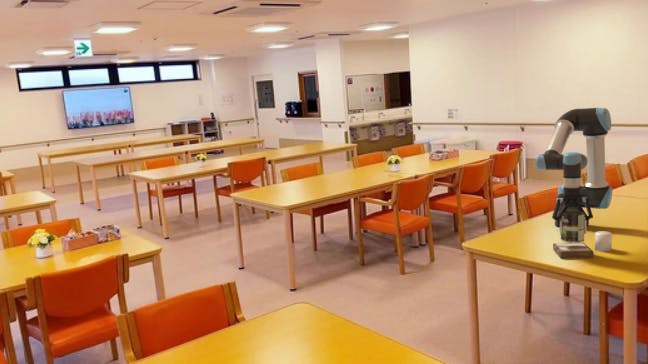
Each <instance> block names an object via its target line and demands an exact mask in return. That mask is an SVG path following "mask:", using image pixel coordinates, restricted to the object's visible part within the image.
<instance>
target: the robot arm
mask: <svg viewBox="0 0 648 364" xmlns="http://www.w3.org/2000/svg"><path fill="white" fill-rule="evenodd" d="M611 130H612V118H611V113H610V111H609V109H608V108H606V107H587V108H574V109H570V110H569V111H566V112H564V114H562V115H561V116H560V117H559V118H558V119H557V120H556V122H555V124H554V131H553V133H552V136H551V138H550V140H549V142H548V145H547V146H546V149H545V151H544V153H540V154H537V156H536V157H535V166H536V168H537V169H538V170H543V171H563V174H562V175H563V179H562V182H563V184H561V185H559V186H558V188H557V197H556V198H555V206H554V209H553V213H552V215H551V218H552V219H553V220H554V226H555V227H557V228H558V234H559V235H560V236H561V235H562V221H561V218H562V212H565V211H566V209H567V208H576V209H579V210H580V211H585V209H586V212H585V213H584V235H587V227H589V224H590V219H593V218H594V216H593V215H594V214H593V212H592V209H598V210H602V209H603V210H605V209H609V207H610V206H611V203H612V197H613V187H611V186H610V183H609V182H608V181H606V150H605V149H606V147H605V144H606V143H605V141H606V140H605V138H606V136H607V135H608V134H609V131H611ZM574 132H582V136H583V137H584V138H585V141H586V142H585V145H586V155H585V154H584V153H582V152H581V153H580V152H573V151H572V152H565V153H564V154H563V151H564V149H565V147H566V144H567V142H568V141H569V138H570V135H572V134H573V133H574ZM585 168H586V174H587V175H586V176H587V177H586V178H587V180H586V182H584V184H583V185H584V186H583V185H582V170H583V169H585ZM560 210H561V211H562V212H560Z"/></svg>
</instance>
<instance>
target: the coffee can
mask: <svg viewBox="0 0 648 364" xmlns="http://www.w3.org/2000/svg"><path fill="white" fill-rule="evenodd" d="M560 212H562V211H561V210H560ZM584 213H586V211H585V210H584V211H580V210H579V209H576V208H567V209H566V211H565V212H562V218H561V221H562V235H560V241H561V242H563V243H585V234H584V219H585V218H584Z"/></svg>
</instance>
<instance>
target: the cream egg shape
mask: <svg viewBox="0 0 648 364" xmlns="http://www.w3.org/2000/svg"><path fill="white" fill-rule="evenodd" d="M612 237H613V234H612V231H611V232H610V231H605V230H604V231H603V230H600V231H595V232H594V250H595V251H597V252H604V253H609V252H611V251H612V250H613V248H612V247H613V239H612Z"/></svg>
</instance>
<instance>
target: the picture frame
mask: <svg viewBox="0 0 648 364" xmlns="http://www.w3.org/2000/svg"><path fill="white" fill-rule="evenodd" d="M552 250H553V251H554V252H555V254H556V255H557V256H558V257H559V258H560V260H561V259H594V250H593V249H591V247H590V246H588V245H587V244H586V243H585V242H581V243H567V242H563V243H562V242H559V243H552Z"/></svg>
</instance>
